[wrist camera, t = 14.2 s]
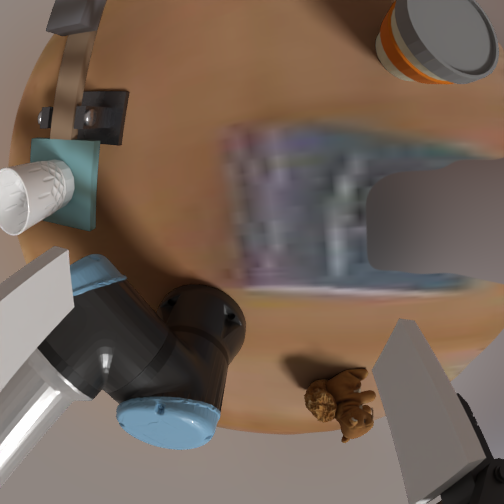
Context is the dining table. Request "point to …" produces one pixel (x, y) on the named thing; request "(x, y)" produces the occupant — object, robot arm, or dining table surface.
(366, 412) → the stuffed squirrel
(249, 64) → the dining table surface
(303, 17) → the dining table surface
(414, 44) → the reusable coffee cup
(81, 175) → the balance beam
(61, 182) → the white cup
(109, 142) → the beam stand
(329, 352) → the dining table surface
